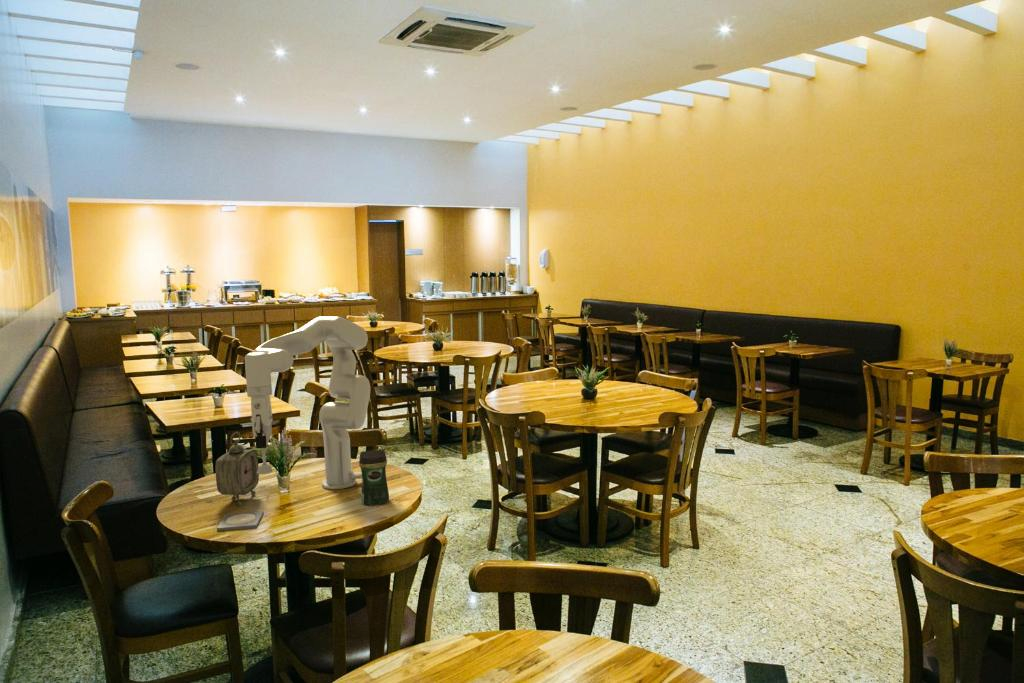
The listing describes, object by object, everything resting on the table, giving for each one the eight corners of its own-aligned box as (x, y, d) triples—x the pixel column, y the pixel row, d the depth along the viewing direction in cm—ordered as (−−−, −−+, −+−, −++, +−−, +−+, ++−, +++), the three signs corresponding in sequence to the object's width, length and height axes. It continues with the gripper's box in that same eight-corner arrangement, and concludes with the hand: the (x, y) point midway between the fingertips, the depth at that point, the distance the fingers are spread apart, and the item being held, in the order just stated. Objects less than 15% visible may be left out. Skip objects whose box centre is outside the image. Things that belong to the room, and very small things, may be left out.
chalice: (257, 468, 226) (253, 415, 223) (278, 467, 227) (274, 414, 224) (251, 475, 219) (247, 421, 216) (273, 474, 219) (269, 420, 217)
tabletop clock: (241, 508, 236) (236, 438, 232) (216, 508, 236) (210, 438, 233) (260, 493, 250) (255, 427, 247) (236, 493, 251) (231, 427, 247)
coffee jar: (387, 496, 244) (385, 446, 242) (390, 504, 237) (387, 452, 234) (360, 499, 242) (357, 449, 239) (361, 507, 234) (359, 455, 232)
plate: (263, 513, 230) (263, 510, 230) (256, 527, 219) (256, 524, 218) (226, 516, 228) (225, 513, 228) (216, 531, 217) (216, 527, 216)
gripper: (267, 395, 211) (271, 451, 214) (275, 385, 228) (279, 437, 231) (241, 396, 210) (245, 453, 212) (252, 386, 227) (255, 438, 229)
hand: (263, 444), depth 221 cm, fingers closed on chalice, 6 cm apart
